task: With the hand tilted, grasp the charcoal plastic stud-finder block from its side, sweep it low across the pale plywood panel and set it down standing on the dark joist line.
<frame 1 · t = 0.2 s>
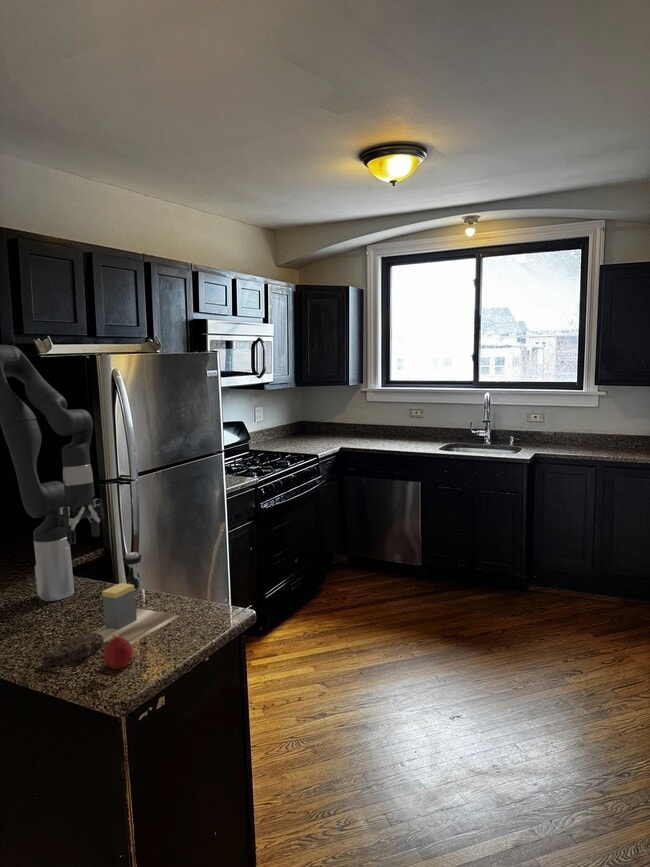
hand: (84, 540, 163), 18 cm above the worktop, tool pointing down, fingers open, 8 cm apart
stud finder: (121, 623, 146), point 1 cm above the worktop, touching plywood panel
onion: (119, 671, 125), on the worktop
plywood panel: (133, 630, 144), on the worktop
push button: (133, 586, 176), on the worktop
concrete sample: (75, 659, 131), on the worktop
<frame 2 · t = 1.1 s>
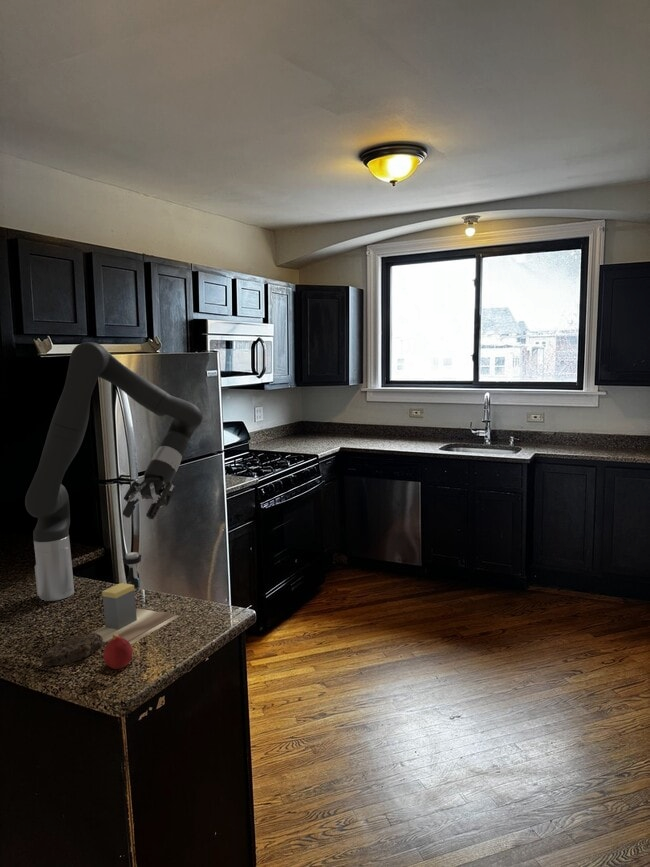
hand: (137, 517, 155), 25 cm above the worktop, tool tilted 45°, fingers open, 8 cm apart
nothing on the worktop moved.
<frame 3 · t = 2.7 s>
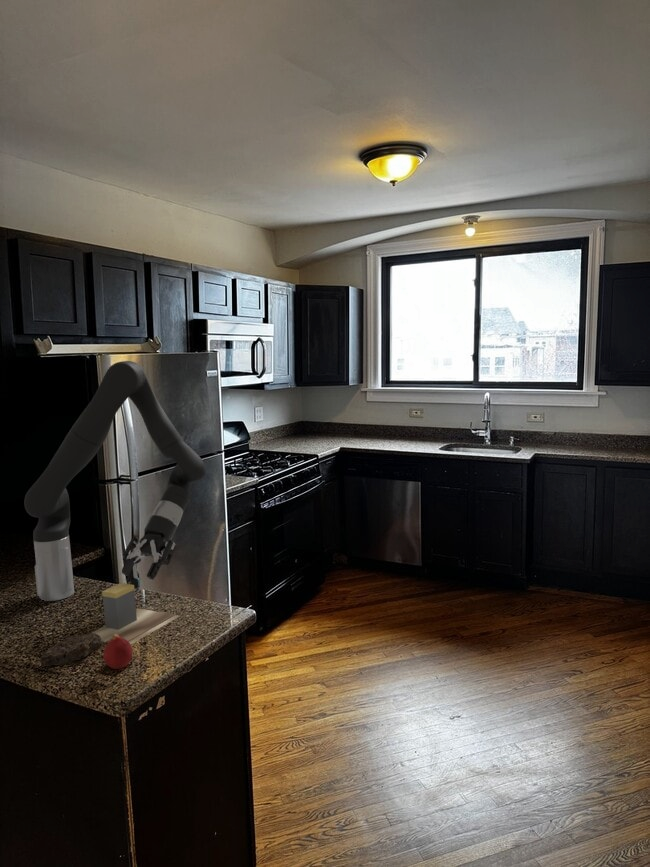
hand: (137, 576, 150), 11 cm above the worktop, tool tilted 45°, fingers open, 8 cm apart
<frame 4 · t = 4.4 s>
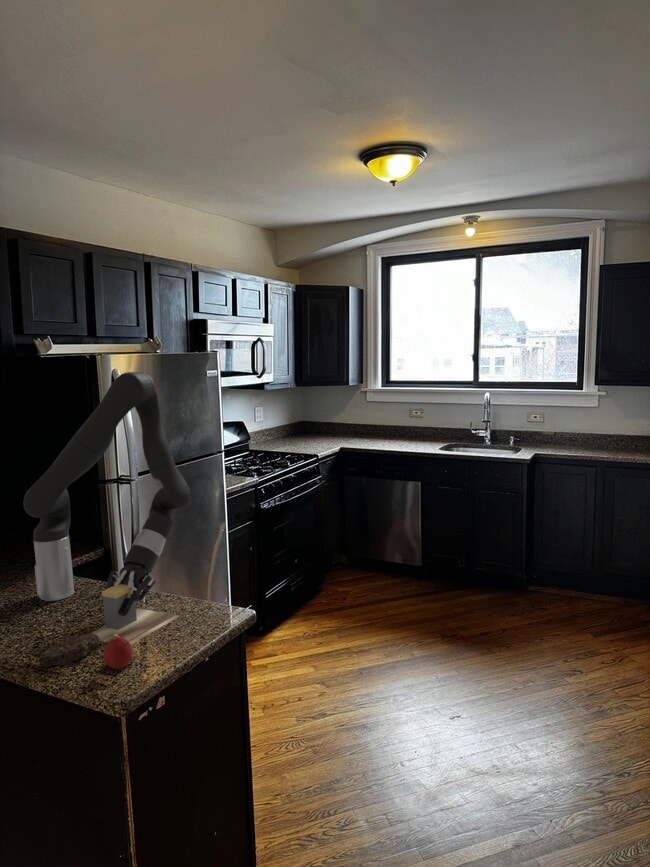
hand: (114, 613, 144), 5 cm above the worktop, tool tilted 45°, fingers closed on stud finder, 4 cm apart
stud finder: (121, 623, 146), point 1 cm above the worktop, touching gripper, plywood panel
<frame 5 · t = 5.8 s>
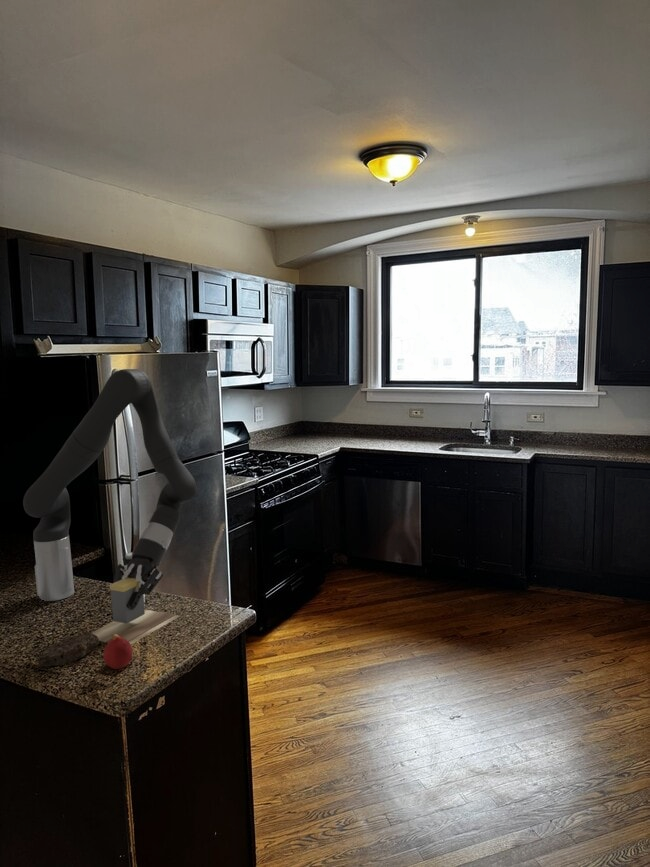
hand: (122, 606, 143), 7 cm above the worktop, tool tilted 45°, fingers closed on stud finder, 4 cm apart
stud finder: (129, 617, 145), point 3 cm above the worktop, touching gripper
when the fingers open (5 cm above the worktop, at t = 7.3 s): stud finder stays where it is, resting on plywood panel.
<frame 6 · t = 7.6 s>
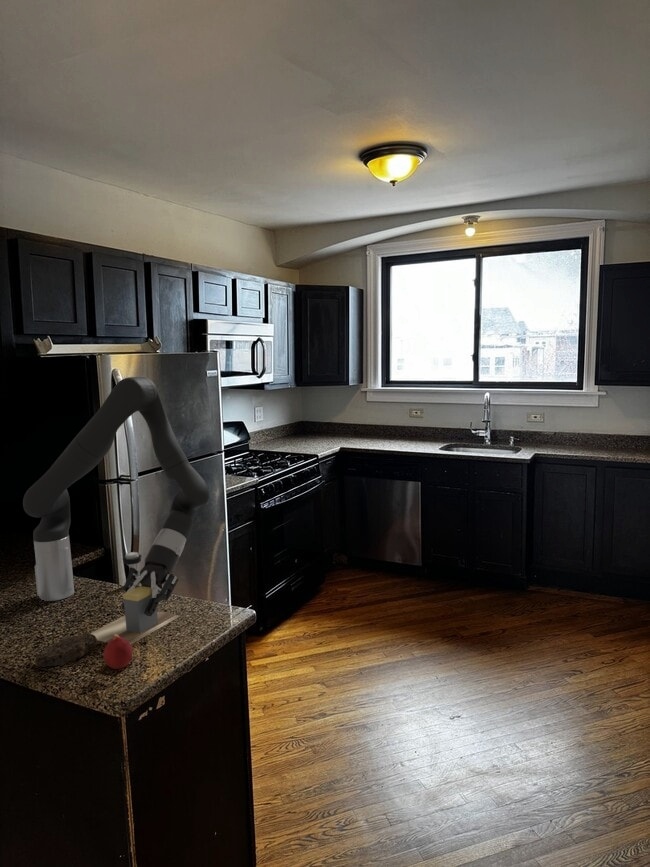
hand: (136, 612, 141), 6 cm above the worktop, tool tilted 45°, fingers open, 6 cm apart
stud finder: (142, 627, 143), point 1 cm above the worktop, touching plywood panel
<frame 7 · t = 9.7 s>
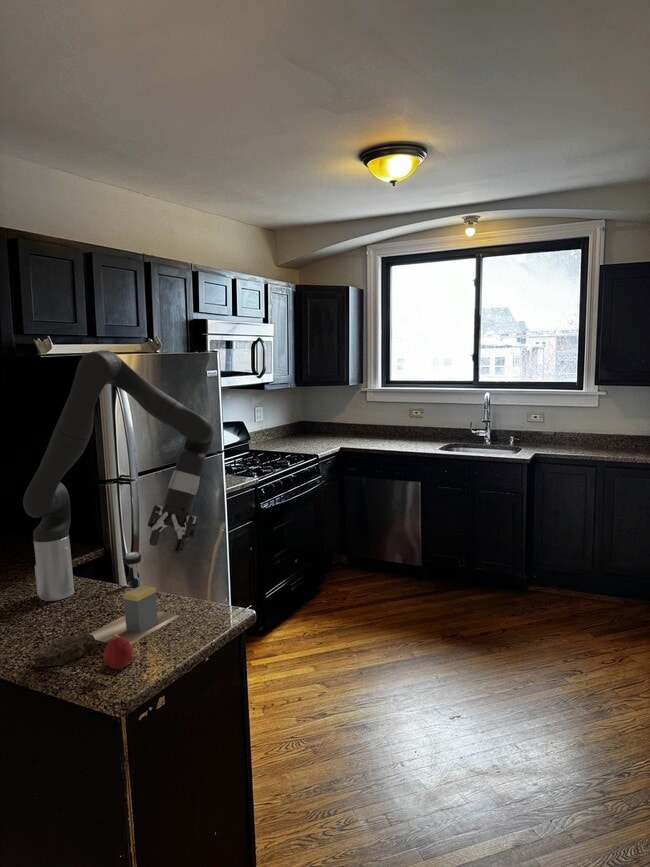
hand: (164, 549, 155), 16 cm above the worktop, tool tilted 25°, fingers open, 8 cm apart
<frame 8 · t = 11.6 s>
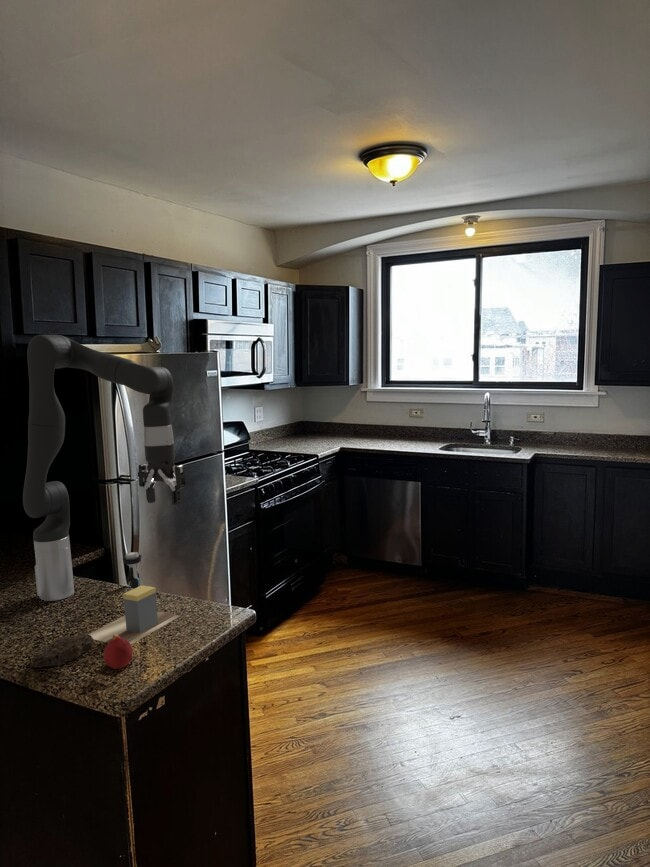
hand: (163, 503, 156), 28 cm above the worktop, tool pointing down, fingers open, 8 cm apart
at the end: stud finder inside the target area (0.1 cm from its centre), point 1.4 cm above the worktop; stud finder tilted 0°; the gripper is holding nothing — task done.
